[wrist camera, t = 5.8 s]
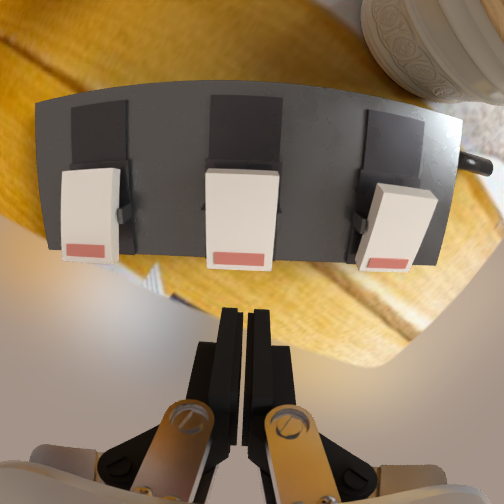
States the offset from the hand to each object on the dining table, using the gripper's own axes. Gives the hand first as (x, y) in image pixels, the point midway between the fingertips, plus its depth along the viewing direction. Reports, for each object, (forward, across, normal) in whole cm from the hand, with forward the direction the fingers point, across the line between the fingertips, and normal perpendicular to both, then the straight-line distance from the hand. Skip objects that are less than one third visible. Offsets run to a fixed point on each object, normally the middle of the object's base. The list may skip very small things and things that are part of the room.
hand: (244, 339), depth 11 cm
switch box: (+16, -2, -4) cm, 16 cm away
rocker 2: (+9, +1, -2) cm, 9 cm away
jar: (+17, -14, -18) cm, 28 cm away
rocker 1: (+9, +11, -2) cm, 14 cm away
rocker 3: (+9, -9, -2) cm, 13 cm away
